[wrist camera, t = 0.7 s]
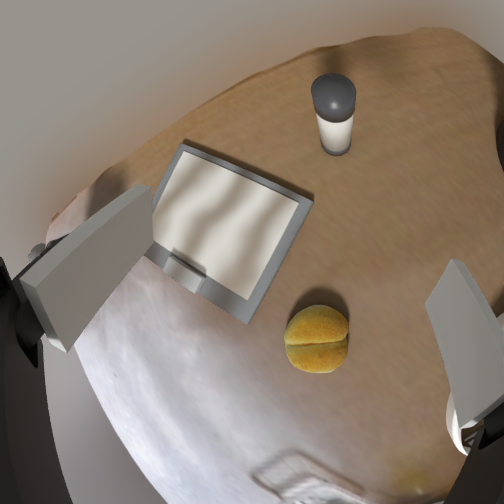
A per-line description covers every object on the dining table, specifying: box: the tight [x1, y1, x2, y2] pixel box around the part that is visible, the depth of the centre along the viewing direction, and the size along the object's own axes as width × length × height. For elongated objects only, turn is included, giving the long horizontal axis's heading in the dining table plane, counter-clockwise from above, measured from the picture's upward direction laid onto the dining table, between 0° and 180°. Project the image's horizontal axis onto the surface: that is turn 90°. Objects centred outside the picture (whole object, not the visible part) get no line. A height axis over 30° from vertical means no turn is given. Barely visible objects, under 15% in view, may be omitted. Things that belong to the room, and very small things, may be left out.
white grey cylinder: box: [311, 73, 356, 156], centre depth 28 cm, size 4×4×13 cm
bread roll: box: [284, 305, 349, 373], centre depth 33 cm, size 8×9×4 cm
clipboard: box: [143, 143, 314, 324], centre depth 38 cm, size 22×18×2 cm
